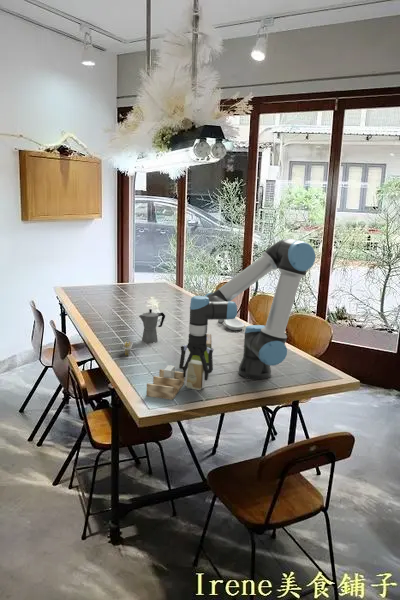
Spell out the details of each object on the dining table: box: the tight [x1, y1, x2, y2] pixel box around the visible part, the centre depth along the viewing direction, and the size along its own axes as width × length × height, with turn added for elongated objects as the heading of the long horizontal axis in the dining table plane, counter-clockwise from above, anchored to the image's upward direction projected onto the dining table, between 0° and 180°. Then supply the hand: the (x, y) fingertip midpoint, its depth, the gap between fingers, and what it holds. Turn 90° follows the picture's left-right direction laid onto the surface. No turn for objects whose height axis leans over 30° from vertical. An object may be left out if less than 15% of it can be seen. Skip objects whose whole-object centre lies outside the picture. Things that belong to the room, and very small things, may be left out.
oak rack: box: [146, 369, 185, 401], centre depth 194 cm, size 11×17×6 cm, turn 167°
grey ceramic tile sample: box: [163, 364, 176, 379], centre depth 198 cm, size 3×6×8 cm, turn 167°
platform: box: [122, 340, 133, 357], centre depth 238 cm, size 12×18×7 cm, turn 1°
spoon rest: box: [217, 317, 245, 331], centre depth 296 cm, size 24×12×7 cm, turn 27°
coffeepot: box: [138, 309, 166, 344], centre depth 259 cm, size 15×9×18 cm, turn 118°
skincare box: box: [186, 360, 204, 391], centre depth 198 cm, size 6×4×12 cm
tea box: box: [191, 333, 213, 369], centre depth 223 cm, size 15×10×15 cm, turn 178°
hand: (195, 385), depth 198 cm, fingers closed on skincare box, 7 cm apart
